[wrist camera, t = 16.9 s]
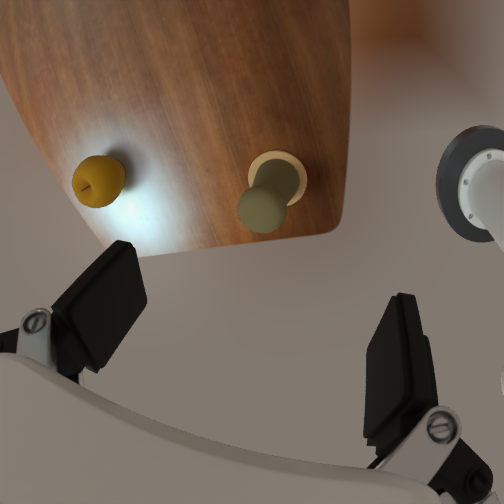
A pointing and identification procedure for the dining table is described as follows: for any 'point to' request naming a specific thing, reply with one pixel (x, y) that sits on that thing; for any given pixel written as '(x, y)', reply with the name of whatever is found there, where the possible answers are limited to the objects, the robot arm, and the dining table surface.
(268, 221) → the pepper shaker
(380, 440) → the robot arm
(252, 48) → the dining table surface
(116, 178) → the apple
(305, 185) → the cork mat
